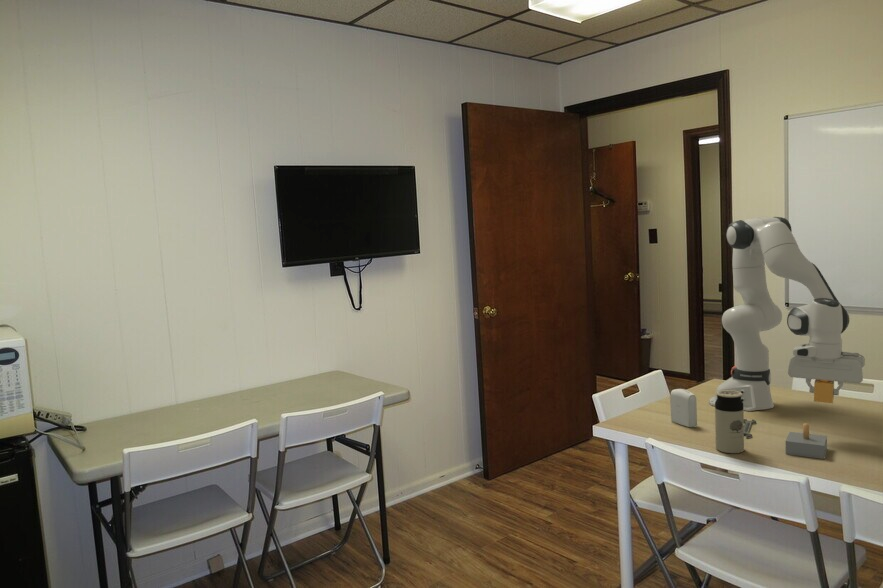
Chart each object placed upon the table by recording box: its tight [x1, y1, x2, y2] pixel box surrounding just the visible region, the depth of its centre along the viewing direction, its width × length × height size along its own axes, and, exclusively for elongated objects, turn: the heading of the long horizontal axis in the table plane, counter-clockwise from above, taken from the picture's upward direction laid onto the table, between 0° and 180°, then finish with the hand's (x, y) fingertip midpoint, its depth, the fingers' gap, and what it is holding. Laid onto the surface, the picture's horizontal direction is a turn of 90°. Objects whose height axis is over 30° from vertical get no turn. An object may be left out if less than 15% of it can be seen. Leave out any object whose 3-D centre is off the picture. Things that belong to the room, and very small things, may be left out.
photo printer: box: [669, 388, 698, 428], centre depth 225 cm, size 10×4×12 cm, turn 20°
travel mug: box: [714, 390, 745, 454], centre depth 197 cm, size 8×8×18 cm
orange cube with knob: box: [813, 379, 835, 404], centre depth 201 cm, size 5×5×7 cm
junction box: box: [785, 422, 828, 460], centre depth 193 cm, size 10×10×8 cm
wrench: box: [744, 418, 757, 440], centre depth 216 cm, size 5×2×20 cm
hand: (823, 393), depth 201 cm, fingers closed on orange cube with knob, 5 cm apart
